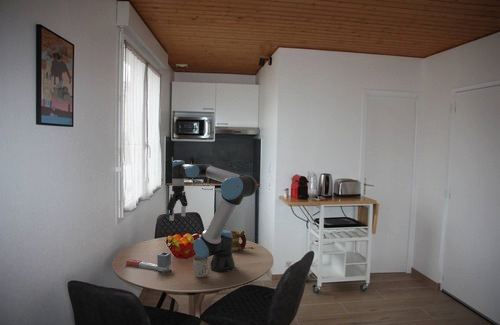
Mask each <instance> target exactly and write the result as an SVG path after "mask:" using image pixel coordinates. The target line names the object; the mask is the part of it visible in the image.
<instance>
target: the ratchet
mask: <svg viewBox="0 0 500 325" xmlns="http://www.w3.org/2000/svg"><path fill="white" fill-rule="evenodd" d="M125 266H129V267H134V268H141V269H146V270H147V269H148V270H153V271H158V273H163V274H164V273H169V272H171V265H169V266H168V267H166V268H164V267H158V266H157V263H152V262H145V261H142V260H139V259H134V258H133V259H132V258H129V259H127V260H126V261H125Z"/></svg>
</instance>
